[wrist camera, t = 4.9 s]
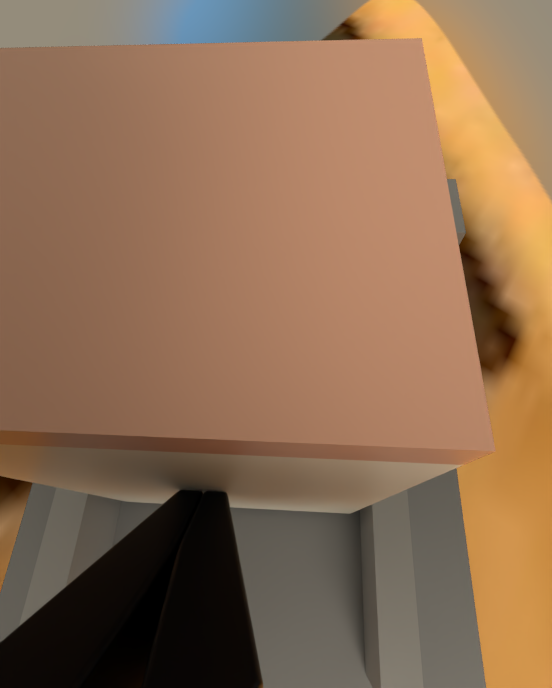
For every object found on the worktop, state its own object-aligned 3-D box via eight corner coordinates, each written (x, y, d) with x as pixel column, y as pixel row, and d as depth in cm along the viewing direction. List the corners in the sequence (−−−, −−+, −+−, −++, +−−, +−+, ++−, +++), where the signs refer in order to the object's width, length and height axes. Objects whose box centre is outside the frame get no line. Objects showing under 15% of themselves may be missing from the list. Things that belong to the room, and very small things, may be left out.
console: (434, 660, 13) (572, 786, 6) (64, 632, 13) (-145, 719, 7) (398, 284, 19) (450, 155, 12) (144, 280, 19) (71, 157, 13)
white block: (349, 513, 11) (496, 451, 3) (127, 501, 11) (-282, 417, 3) (346, 342, 13) (421, 38, 5) (159, 337, 13) (-40, 48, 5)
